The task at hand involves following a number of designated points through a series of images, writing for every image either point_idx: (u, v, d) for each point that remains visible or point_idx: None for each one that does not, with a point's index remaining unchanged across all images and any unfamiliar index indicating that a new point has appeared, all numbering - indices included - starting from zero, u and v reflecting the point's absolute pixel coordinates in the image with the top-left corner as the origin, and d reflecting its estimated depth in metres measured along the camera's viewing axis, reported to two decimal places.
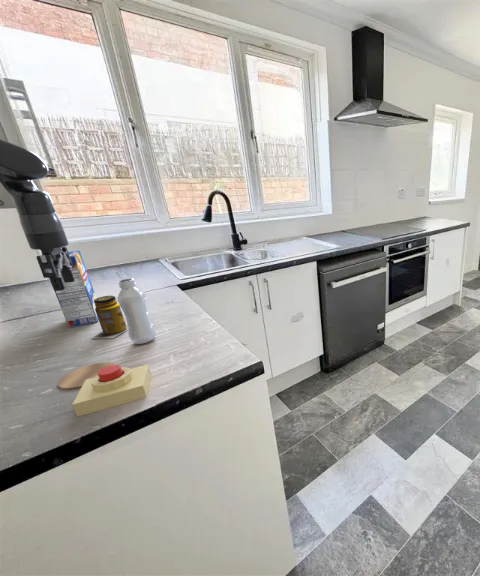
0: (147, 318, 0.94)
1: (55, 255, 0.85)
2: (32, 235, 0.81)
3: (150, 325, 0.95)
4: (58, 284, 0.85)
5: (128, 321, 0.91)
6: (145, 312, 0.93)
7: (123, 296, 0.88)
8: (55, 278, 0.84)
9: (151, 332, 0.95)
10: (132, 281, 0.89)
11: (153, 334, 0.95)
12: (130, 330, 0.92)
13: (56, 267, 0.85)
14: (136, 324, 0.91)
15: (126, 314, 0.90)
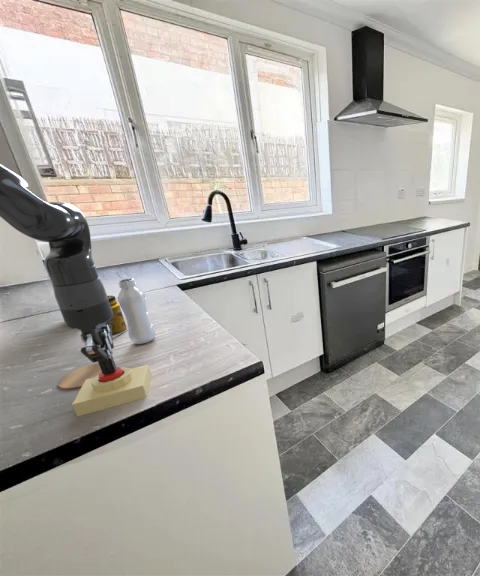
0: (147, 318, 0.94)
1: (98, 334, 0.65)
2: (70, 312, 0.61)
3: (150, 325, 0.95)
4: (108, 367, 0.68)
5: (128, 321, 0.91)
6: (145, 312, 0.93)
7: (123, 296, 0.88)
8: (105, 360, 0.68)
9: (151, 332, 0.95)
10: (132, 281, 0.89)
11: (153, 334, 0.95)
12: (130, 330, 0.92)
13: (104, 349, 0.67)
14: (136, 324, 0.91)
15: (126, 314, 0.90)
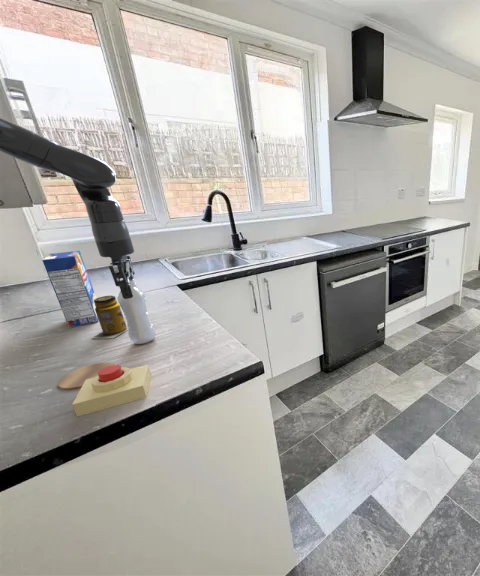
0: (147, 318, 0.94)
1: (123, 262, 0.86)
2: (103, 243, 0.82)
3: (150, 325, 0.95)
4: (127, 292, 0.87)
5: (128, 321, 0.91)
6: (145, 312, 0.93)
7: None
8: (125, 286, 0.86)
9: (151, 332, 0.95)
10: (132, 281, 0.89)
11: (153, 334, 0.95)
12: (130, 330, 0.92)
13: (125, 275, 0.86)
14: (136, 324, 0.91)
15: (126, 314, 0.90)
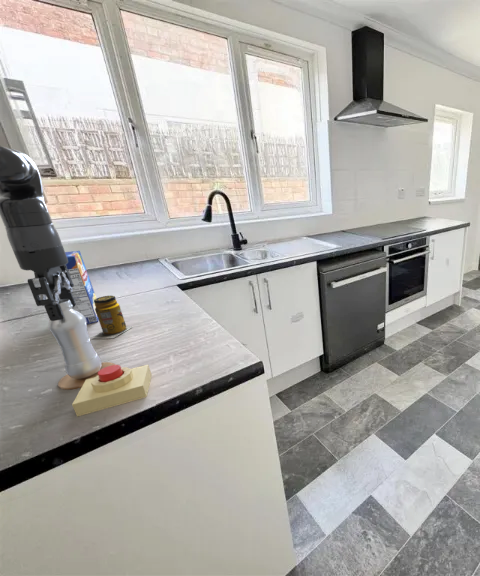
0: (89, 347, 0.77)
1: (51, 277, 0.68)
2: (22, 253, 0.64)
3: (93, 355, 0.77)
4: (55, 313, 0.68)
5: (63, 352, 0.74)
6: (86, 340, 0.76)
7: (54, 321, 0.71)
8: (51, 306, 0.68)
9: (94, 363, 0.77)
10: (67, 303, 0.72)
11: (97, 366, 0.78)
12: (66, 362, 0.74)
13: (53, 292, 0.68)
14: (73, 356, 0.74)
15: (60, 343, 0.73)
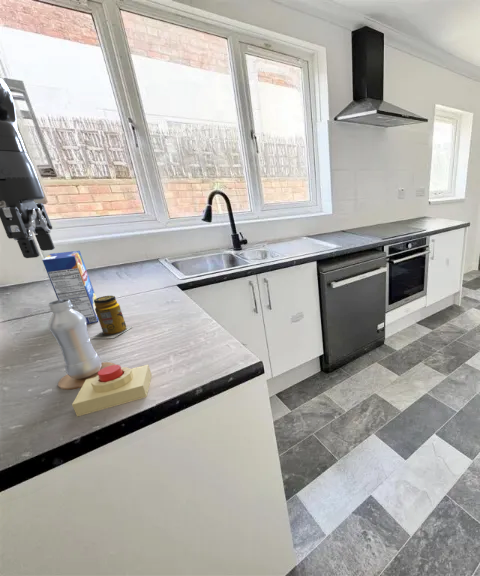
0: (89, 347, 0.77)
1: (25, 210, 0.63)
2: None
3: (93, 355, 0.77)
4: (29, 249, 0.64)
5: (63, 352, 0.74)
6: (86, 340, 0.76)
7: (54, 321, 0.71)
8: (25, 240, 0.63)
9: (94, 363, 0.77)
10: (67, 303, 0.72)
11: (97, 366, 0.78)
12: (66, 362, 0.74)
13: (26, 226, 0.63)
14: (73, 356, 0.74)
15: (60, 343, 0.73)
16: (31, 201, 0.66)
